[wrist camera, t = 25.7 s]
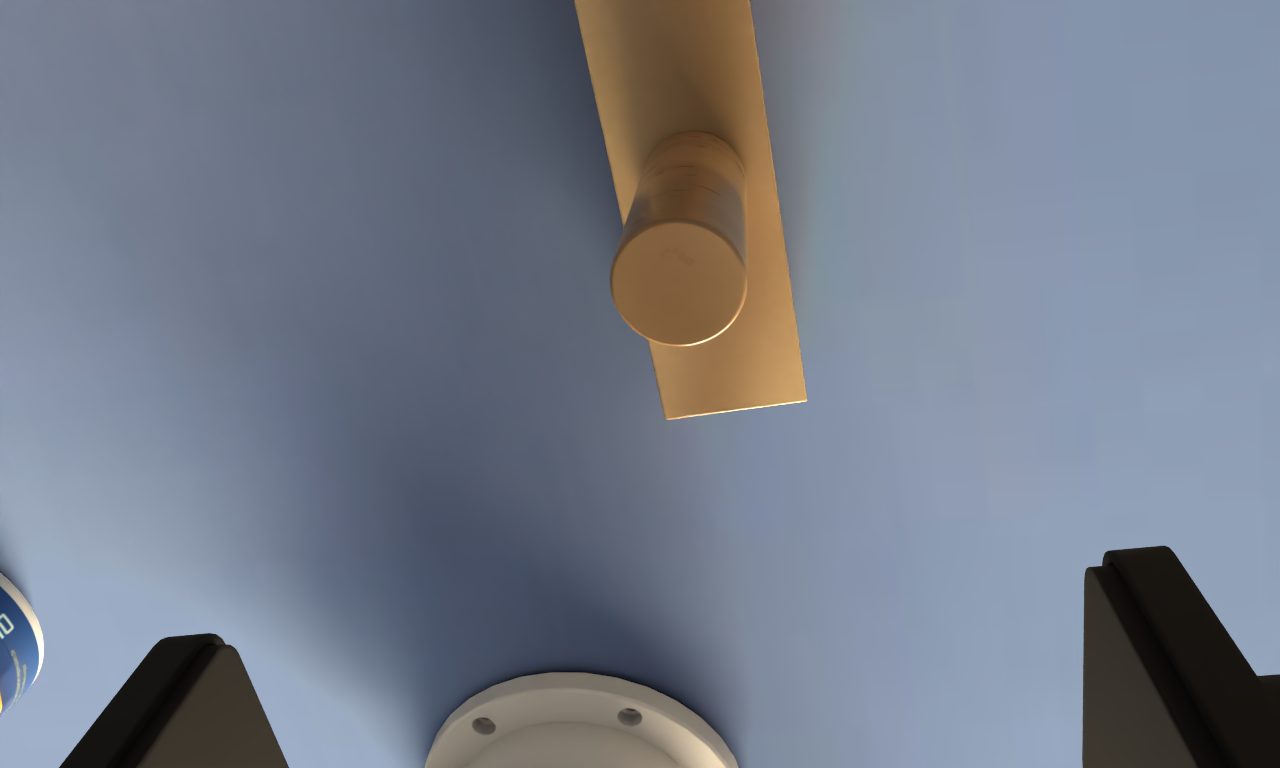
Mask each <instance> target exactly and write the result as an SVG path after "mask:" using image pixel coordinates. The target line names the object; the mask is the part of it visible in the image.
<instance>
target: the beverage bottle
mask: <svg viewBox="0 0 1280 768" xmlns="http://www.w3.org/2000/svg"><path fill="white" fill-rule="evenodd" d="M43 655H44V642H43V636H42V631H41V628H40V625H39V622H38V620H37V617H36V615H35V613H34V611H33V610H32V608H31V606H30V605H29V603H28V602H27V600H26V599H25V598H24V596H23V595H22V594H21V592H20V591H19V590H18V589H17V588H16V587H15V586H14V585H13V584H12V583H11V582H10V581H9V580H8V579H7V578H6V577H5V576H4V575H3V574H1V573H0V717H1V716H2V715H3V714H4V713H5V712H6V711H8V710H9V709H10V708H11V707H12V706H13V705H14V704H15V703H16V702H17V701H18V700H19V699H20V697H21V696H22V695H23V694H24V693H25V692H26V691H27V689H28V688H29V687H30V686H31V685H32V683H33V682H34V680H35V679H36V677H37V675H38V673H39V671H40V668H41V665H42V661H43Z"/></svg>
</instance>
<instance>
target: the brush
mask: <svg viewBox="0 0 1280 768" xmlns="http://www.w3.org/2000/svg"><path fill="white" fill-rule="evenodd" d="M574 3H575V7H576V12H577V17H578V21H579V26H580V30H581V35H582V40H583V44H584V49H585V53H586V58H587V63H588V67H589V72H590V76H591V81H592V86H593V90H594V95H595V99H596V104H597V109H598V113H599V118H600V122H601V127H602V132H603V136H604V141H605V145H606V150H607V155H608V159H609V164H610V169H611V173H612V178H613V182H614V187H615V192H616V196H617V201H618V205H619V210H620V215H621V219H622V224H623V228H624V229H623V232H622V235H621V238H620V241H619V244H618V247H617V250H616V253H615V256H614V259H613V263H612V266H611V272H610V289H611V295H612V298H613V302H614V304H615V306H616V308H617V310H618V312H619V314H620V315H621V317H622V318H623V319H624V321H625V322H626V323H627V324H628V325H629V326H630V327H631V328H632V329H633V330H635V331H636V332H637V333H639V334H640V335H642V336H643V337H645V338H647V339H648V343H649V348H650V353H651V357H652V362H653V366H654V371H655V376H656V380H657V385H658V389H659V394H660V399H661V403H662V408H663V412H664V417H665V419H666V420H669V419H677V418H684V417H692V416H699V415H707V414H714V413H722V412H729V411H737V410H744V409H752V408H759V407H767V406H774V405H782V404H789V403H797V402H804V401H807V395H806V386H805V378H804V371H803V364H802V357H801V350H800V343H799V337H798V330H797V323H796V316H795V309H794V302H793V295H792V288H791V281H790V274H789V267H788V260H787V253H786V247H785V240H784V233H783V226H782V219H781V212H780V205H779V198H778V191H777V184H776V177H775V170H774V163H773V157H772V150H771V143H770V136H769V129H768V122H767V115H766V108H765V101H764V94H763V87H762V80H761V73H760V67H759V60H758V53H757V46H756V39H755V32H754V25H753V18H752V11H751V4H750V0H574Z"/></svg>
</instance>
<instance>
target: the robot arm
mask: <svg viewBox="0 0 1280 768" xmlns="http://www.w3.org/2000/svg"><path fill="white" fill-rule="evenodd" d="M1082 761H1083V768H1280V675H1266V676H1257V675H1256V674H1255V672H1254V671H1253V669H1252V668H1251V666H1250V665H1249V663H1248V662H1247V660H1246V659H1245V658H1244V656H1243V655H1242V653H1241V652H1240V650H1239V649H1238V647H1237V646H1236V644H1235V643H1234V641H1233V640H1232V638H1231V637H1230V635H1229V634H1228V632H1227V631H1226V629H1225V628H1224V626H1223V625H1222V623H1221V622H1220V620H1219V619H1218V617H1217V616H1216V614H1215V613H1214V611H1213V610H1212V608H1211V607H1210V605H1209V604H1208V603H1207V601H1206V600H1205V598H1204V597H1203V595H1202V594H1201V592H1200V591H1199V589H1198V588H1197V586H1196V585H1195V583H1194V582H1193V580H1192V579H1191V577H1190V576H1189V574H1188V573H1187V571H1186V570H1185V568H1184V567H1183V565H1182V564H1181V562H1180V561H1179V559H1178V558H1177V556H1176V555H1175V554H1174V552H1173V551H1172V550H1171V549H1170V548H1169V547H1166V546H1156V547H1145V548H1134V549H1123V550H1112V551H1107V552H1106V553H1105V554H1104V557H1103V563H1102V566H1097V567H1088V568H1087V569H1086V572H1085V579H1084V664H1083V752H1082ZM59 768H289V767H288V764H287V762H286V760H285V758H284V755H283V753H282V751H281V749H280V746H279V744H278V742H277V739H276V737H275V735H274V733H273V730H272V728H271V726H270V724H269V721H268V719H267V717H266V714H265V712H264V710H263V708H262V705H261V703H260V701H259V699H258V696H257V694H256V692H255V689H254V687H253V685H252V683H251V680H250V678H249V676H248V674H247V671H246V669H245V667H244V664H243V662H242V660H241V658H240V655H239V653H238V652H237V650H236V649H235V648H234V647H233V646H231V645H226V644H225V643H224V641H223V640H222V638H220V637H219V636H218V635H216V634H211V633H207V634H196V635H186V636H175V637H167V638H164V639H161V640H160V641H159V642H158V643H157V644H156V645H155V646H154V647H153V648H152V649H151V650H150V652H149V653H148V654H147V656H146V657H145V658H144V659H143V661H142V662H141V663H140V665H139V666H138V667H137V668H136V670H135V671H134V672H133V674H132V675H131V676H130V677H129V679H128V680H127V681H126V682H125V684H124V685H123V686H122V688H121V689H120V690H119V691H118V693H117V694H116V695H115V697H114V698H113V699H112V700H111V702H110V703H109V704H108V706H107V707H106V708H105V709H104V711H103V712H102V713H101V715H100V716H99V717H98V718H97V720H96V721H95V722H94V724H93V725H92V726H91V727H90V729H89V730H88V731H87V732H86V734H85V735H84V736H83V738H82V739H81V740H80V741H79V743H78V744H77V745H76V747H75V748H74V749H73V750H72V752H71V753H70V754H69V756H68V757H67V758H66V759H65V761H64V762H63V763H62V765H61V766H60V767H59ZM425 768H739V767H738V764H737V762H736V759H735V757H734V756H733V754H732V753H731V751H730V750H729V748H728V747H727V745H726V744H725V742H724V741H723V740H722V738H721V737H720V736H719V735H718V734H717V733H716V732H715V731H714V730H713V729H712V728H711V727H710V726H709V725H708V724H707V723H706V722H705V721H704V720H703V719H702V718H701V717H700V716H698V715H697V714H695V713H694V712H692V711H691V710H689V709H688V708H686V707H685V706H684V705H682V704H681V703H679V702H678V701H676V700H674V699H672V698H670V697H668V696H666V695H664V694H661V693H659V692H657V691H655V690H653V689H651V688H649V687H646V686H643V685H640V684H636V683H633V682H630V681H626V680H623V679H620V678H616V677H610V676H603V675H597V674H590V673H579V672H550V673H543V674H537V675H530V676H523V677H519V678H515V679H512V680H509V681H506V682H503V683H500V684H497V685H494V686H491V687H490V688H488V689H486V690H484V691H482V692H480V693H478V694H477V695H475V696H473V697H471V698H469V699H468V700H467V701H466V702H464V703H463V704H462V705H461V706H460V707H459V708H457V709H456V710H455V711H454V712H453V713H452V714H450V716H449V717H448V718H447V720H446V721H445V723H444V724H443V725H442V727H441V728H440V730H439V731H438V732H437V734H436V737H435V739H434V742H433V745H432V747H431V750H430V752H429V755H428V757H427V760H426V764H425Z"/></svg>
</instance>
